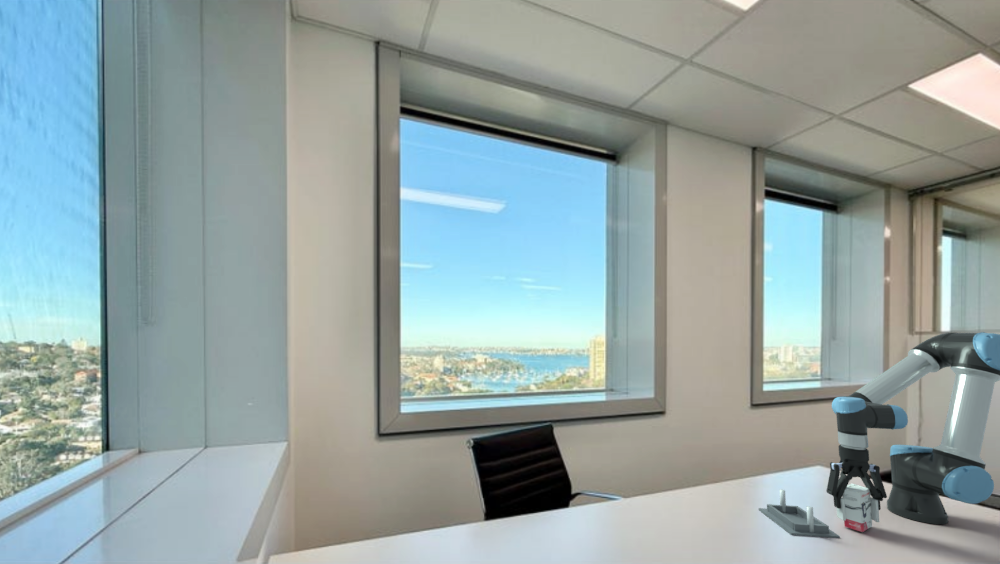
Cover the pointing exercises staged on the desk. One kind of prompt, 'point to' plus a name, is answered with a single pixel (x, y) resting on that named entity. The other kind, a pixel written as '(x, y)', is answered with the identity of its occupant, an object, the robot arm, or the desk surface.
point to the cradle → (797, 519)
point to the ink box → (857, 507)
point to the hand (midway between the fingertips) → (858, 519)
